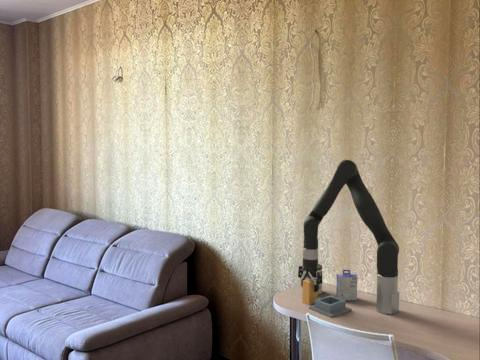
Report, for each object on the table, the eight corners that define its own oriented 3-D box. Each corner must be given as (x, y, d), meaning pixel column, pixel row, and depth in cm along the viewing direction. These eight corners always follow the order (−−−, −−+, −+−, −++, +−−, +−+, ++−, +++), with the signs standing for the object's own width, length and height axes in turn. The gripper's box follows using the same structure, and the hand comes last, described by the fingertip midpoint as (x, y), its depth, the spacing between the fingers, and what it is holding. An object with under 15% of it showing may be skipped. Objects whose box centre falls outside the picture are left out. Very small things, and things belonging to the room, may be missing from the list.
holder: (351, 310, 215) (351, 301, 215) (331, 317, 207) (331, 308, 206) (328, 302, 226) (328, 293, 226) (308, 308, 218) (309, 299, 217)
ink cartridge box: (355, 296, 234) (355, 269, 233) (357, 300, 228) (358, 272, 227) (335, 296, 234) (336, 269, 233) (337, 300, 229) (338, 272, 227)
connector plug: (317, 301, 227) (317, 278, 226) (309, 304, 223) (309, 280, 222) (310, 299, 230) (311, 276, 229) (302, 302, 227) (302, 278, 226)
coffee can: (304, 287, 248) (305, 262, 247) (323, 289, 245) (324, 264, 243) (300, 293, 239) (300, 267, 238) (319, 296, 235) (320, 269, 234)
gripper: (326, 259, 221) (325, 291, 223) (305, 253, 233) (304, 284, 234) (315, 261, 217) (314, 294, 218) (294, 255, 228) (294, 286, 230)
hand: (309, 289), depth 226 cm, fingers open, 8 cm apart
